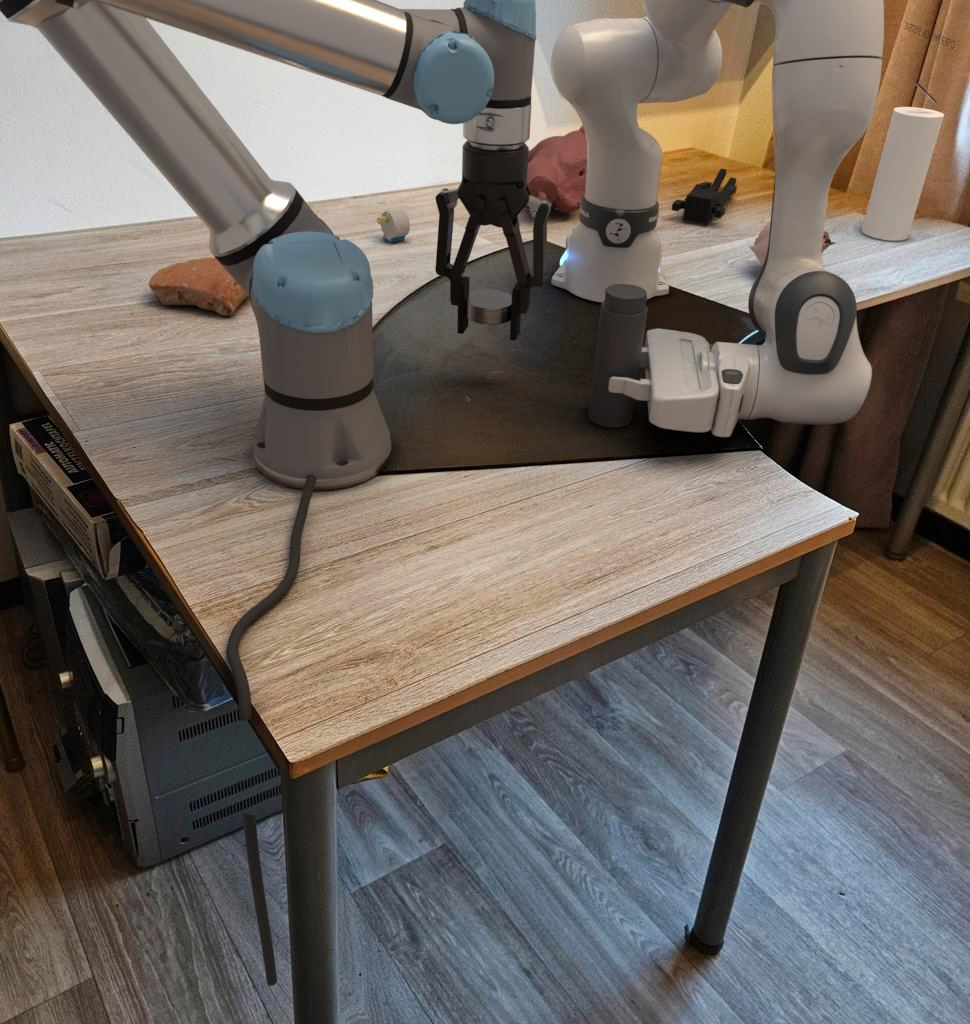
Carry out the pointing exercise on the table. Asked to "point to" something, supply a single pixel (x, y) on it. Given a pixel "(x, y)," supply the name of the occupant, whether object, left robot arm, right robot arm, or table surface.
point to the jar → (617, 352)
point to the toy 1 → (706, 200)
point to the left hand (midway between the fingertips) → (488, 332)
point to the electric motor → (394, 225)
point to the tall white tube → (902, 168)
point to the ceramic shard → (198, 286)
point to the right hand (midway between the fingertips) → (608, 370)
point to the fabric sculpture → (559, 170)
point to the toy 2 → (763, 240)
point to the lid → (488, 307)
